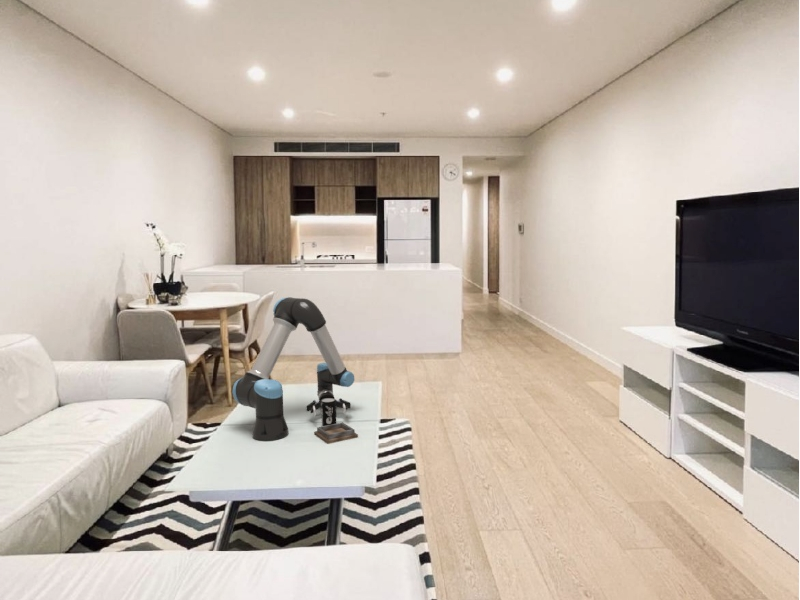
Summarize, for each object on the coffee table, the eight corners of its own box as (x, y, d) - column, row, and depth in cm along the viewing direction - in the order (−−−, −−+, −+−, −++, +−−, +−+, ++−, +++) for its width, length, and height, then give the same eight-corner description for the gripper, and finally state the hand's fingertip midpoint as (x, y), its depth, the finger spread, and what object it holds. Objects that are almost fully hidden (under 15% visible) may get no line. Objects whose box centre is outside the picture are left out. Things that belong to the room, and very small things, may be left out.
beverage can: (339, 425, 257) (338, 399, 255) (328, 429, 252) (327, 402, 251) (329, 422, 261) (328, 397, 260) (318, 426, 256) (317, 400, 255)
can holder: (327, 443, 233) (326, 436, 233) (314, 434, 245) (313, 427, 245) (357, 437, 240) (357, 429, 240) (343, 428, 252) (343, 421, 252)
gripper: (352, 404, 280) (357, 417, 259) (301, 408, 275) (302, 422, 254) (352, 389, 279) (357, 401, 258) (300, 393, 274) (301, 405, 253)
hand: (329, 411), depth 256 cm, fingers open, 13 cm apart
